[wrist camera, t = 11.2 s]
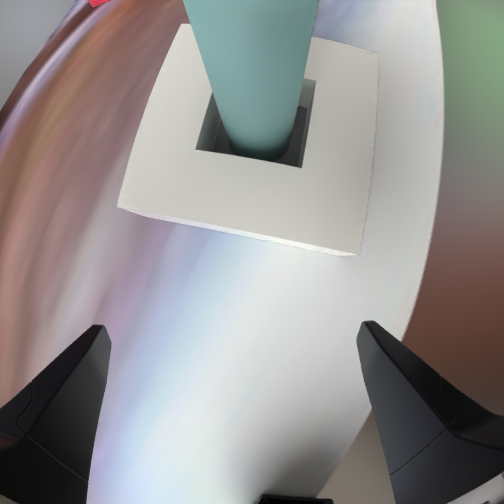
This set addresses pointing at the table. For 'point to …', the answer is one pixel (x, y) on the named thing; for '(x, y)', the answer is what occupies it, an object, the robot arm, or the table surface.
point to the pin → (255, 67)
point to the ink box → (97, 2)
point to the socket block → (258, 171)
